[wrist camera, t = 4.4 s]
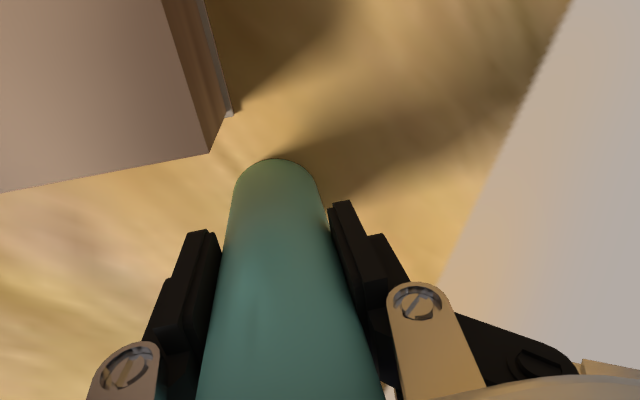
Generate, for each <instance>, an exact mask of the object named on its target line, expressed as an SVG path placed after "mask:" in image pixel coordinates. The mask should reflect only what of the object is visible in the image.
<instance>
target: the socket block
mask: <svg viewBox="0 0 640 400" xmlns="http://www.w3.org/2000/svg"><path fill="white" fill-rule="evenodd" d="M232 116H234V112H233V108H232V104H231V101H230V97H229V93H228V89H227V86H226V82H225V78H224V74H223V71H222V67H221V63H220V59H219V56H218V52H217V48H216V44H215V41H214V37H213V33H212V29H211V26H210V22H209V18H208V14H207V11H206V7H205V3H204V0H0V193H5V192H10V191H15V190H20V189H26V188H31V187H36V186H41V185H46V184H52V183H57V182H62V181H67V180H72V179H78V178H83V177H88V176H93V175H98V174H104V173H109V172H114V171H119V170H124V169H130V168H135V167H140V166H145V165H150V164H155V163H161V162H166V161H171V160H176V159H181V158H187V157H192V156H197V155H202V154H207V153H209V152H210V150H211V147H212V145H213V143H214V140H215V138H216V136H217V133H218V131H219V129H220V126H221V124H222V122H223V119H224V118H227V117H232Z"/></svg>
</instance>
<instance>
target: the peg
mask: <svg viewBox="0 0 640 400" xmlns="http://www.w3.org/2000/svg"><path fill="white" fill-rule="evenodd" d="M195 400H386V398H385V395H384V392H383V389H382V386H381V383H380V380H379V377H378V374H377V371H376V368H375V365H374V362H373V358H372V355H371V352H370V349H369V346H368V343H367V340H366V337H365V334H364V331H363V328H362V325H361V323H360V321H359V319H358V315H357V312H356V309H355V306H354V303H353V300H352V297H351V294H350V291H349V287H348V284H347V281H346V278H345V275H344V272H343V269H342V266H341V263H340V259H339V256H338V253H337V250H336V247H335V244H334V241H333V238H332V234H331V231H330V226H329V223H328V220H327V217H326V214H325V211H324V208H323V205H322V202H321V199H320V195H319V192H318V189H317V186H316V184H315V181H314V179H313V178H312V176H311V175H310V174H309V172H307V171H306V170H305V169H304V168H303V167H301V166H300V165H298V164H296V163H294V162H292V161H288V160H284V159H268V160H264V161H260V162H258V163H256V164H254V165H252V166H250V167H249V168H248V169H246V170H245V171H244V172H243V173H242V174H241V176H240V177H239V179H238V180H237V182H236V185H235V187H234V191H233V197H232V202H231V208H230V213H229V219H228V224H227V230H226V235H225V240H224V246H223V251H222V257H221V262H220V268H219V273H218V279H217V284H216V290H215V295H214V301H213V306H212V311H211V317H210V322H209V328H208V333H207V339H206V344H205V350H204V355H203V361H202V366H201V372H200V377H199V382H198V388H197V393H196V399H195Z"/></svg>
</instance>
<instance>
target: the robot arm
mask: <svg viewBox="0 0 640 400" xmlns="http://www.w3.org/2000/svg"><path fill="white" fill-rule="evenodd" d="M327 212H328V219H329V225H330V231H331V234H332V238H333V241H334V244H335V247H336V250H337V253H338V256H339V259H340V263H341V266H342V269H343V272H344V275H345V278H346V281H347V284H348V287H349V291H350V294H351V297H352V300H353V303H354V306H355V309H356V312H357V315H358V319H359V321H360V323H361V325H362V328H363V331H364V334H365V337H366V340H367V343H368V346H369V349H370V352H371V355H372V358H373V362H374V365H375V368H376V371H377V374H378V377H379V380H380V381H382V382H384V383H386V384H387V385H389V386H391V387H393V388H394V393H395V398H396V400H640V370H637V369H632V368H626V367H622V366H617V365H612V364H607V363H602V362H597V361H592V360H587V359H582V363H581V364H579V363H574V362H571V361H570V360H569V359H568V358H567V357H566V356H565V355H564V354H562V353H561V352H559V351H558V350H557V349H555V348H553V347H551V346H548V345H546V344H544V343H541V342H538V341H535V340H532V339H530V338H527V337H524V336H521V335H518V334H515V333H513V332H509V331H507V330H503V329H501V328H498V327H495V326H492V325H490V324H487V323H484V322H481V321H478V320H475V319H473V318H470V317H467V316H464V315H461V314H458V313H456V312H454V311H453V309H452V307H451V305H450V302H449V300H448V298H447V297H446V295H445V294H444V292H442V291H441V290H440V289H439V288H437V287H435V286H433V285H431V284H428V283H423V282H411V281H410V280H409V278H408V276H407V274H406V272H405V271H404V269H403V267H402V265H401V264H400V262H399V260H398V258H397V257H396V255H395V253H394V251H393V250H392V248H391V246H390V244H389V243H388V241H387V239H386V237H385V236H384V234H383V233H380V234H375V235H370V236H367V235H366V233H365V231H364V229H363V226H362V224H361V222H360V220H359V218H358V216H357V214H356V212H355V210H354V208H353V206H352V204H351V202H350V200H345V201H340V202H335V203H333V208H328V209H327ZM221 257H222V252H221V249H220V246H219V243H218V240H217V237H216V235H215V233H214V232H211V233H209V232H208V230H207V229H203V230H198V231H194V232H189V233H187V235H186V238H185V241H184V244H183V246H182V249H181V252H180V255H179V257H178V260H177V263H176V265H175V268H174V271H173V274H172V276H171V278H168V279H166V280H165V282H164V284H163V286H162V289H161V292H160V294H159V297H158V299H157V302H156V304H155V307H154V310H153V312H152V315H151V317H150V320H149V323H148V325H147V328H146V330H145V333H144V335H143V338H142V341H140V342H135V343H131V344H129V345H127V346H124V347H122V348H121V349H119V350H117V351H116V352H114V353H113V354H112V355H110V356H109V357H108V358H107V359H106V360H105V361H104V362H103V363H102V364H101V366H100V367H99V368H98V369H97V371H96V373H95V375H94V377H93V379H92V382H91V386H90V389H89V392H88V395H87V398H86V400H195V399H196V393H197V388H198V382H199V377H200V372H201V366H202V361H203V355H204V350H205V344H206V339H207V333H208V328H209V322H210V317H211V311H212V306H213V301H214V295H215V290H216V284H217V279H218V273H219V268H220V262H221Z"/></svg>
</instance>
